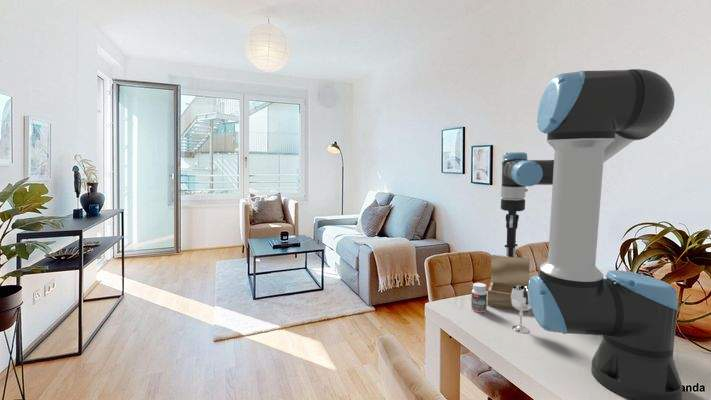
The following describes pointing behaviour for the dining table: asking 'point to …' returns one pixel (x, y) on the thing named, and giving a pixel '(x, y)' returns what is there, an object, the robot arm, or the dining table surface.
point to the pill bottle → (479, 298)
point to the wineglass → (520, 305)
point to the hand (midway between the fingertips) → (510, 264)
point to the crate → (500, 295)
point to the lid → (510, 270)
